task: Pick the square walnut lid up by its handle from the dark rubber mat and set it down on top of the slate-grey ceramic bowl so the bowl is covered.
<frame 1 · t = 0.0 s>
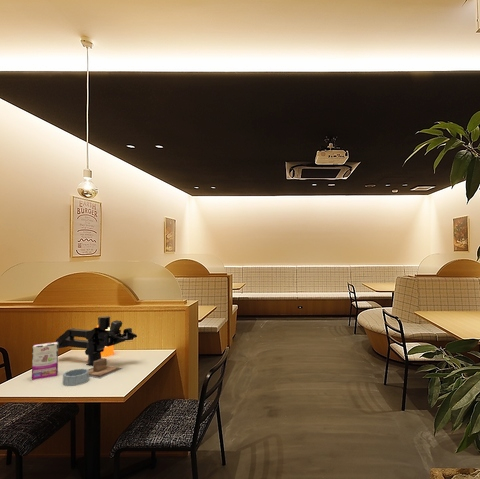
hand: (131, 337, 174), 17 cm above the table, tool horizontal, fingers open, 9 cm apart
walnut lid: (99, 371, 169), resting on mat
orange juice: (103, 355, 200), on the table
candy bar box: (44, 377, 163), on the table
mat: (99, 372, 169), on the table
bowl: (75, 382, 155), on the table
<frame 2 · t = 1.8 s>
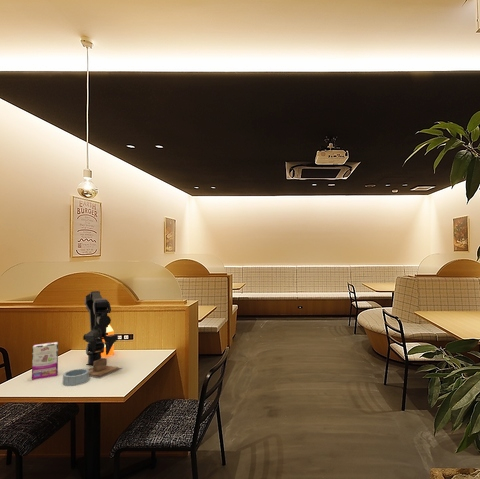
hand: (100, 353, 170), 9 cm above the table, tool pointing down, fingers open, 9 cm apart
nothing on the table moved.
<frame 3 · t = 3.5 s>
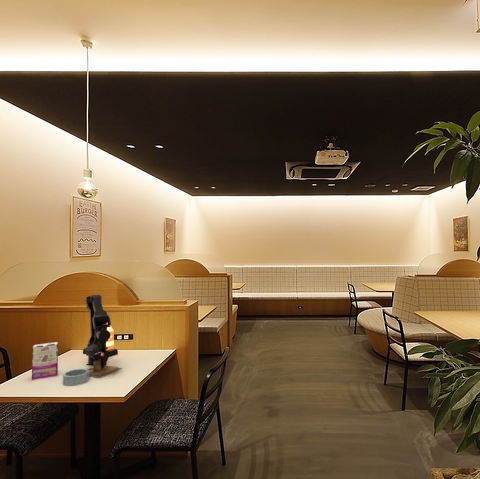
hand: (100, 368, 169), 2 cm above the table, tool pointing down, fingers closed on walnut lid, 3 cm apart
walnut lid: (99, 371, 169), resting on mat, touching gripper
everything else where it was.
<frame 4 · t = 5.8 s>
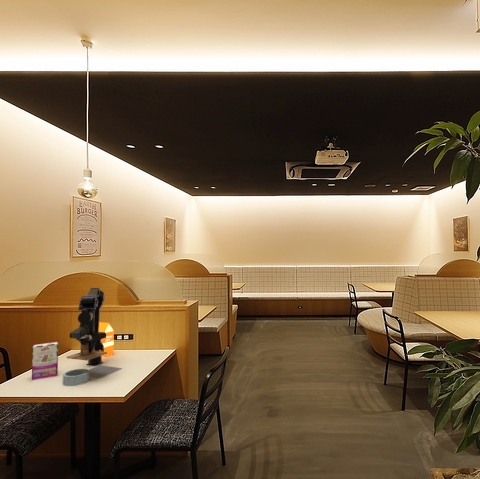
hand: (87, 352, 162), 12 cm above the table, tool pointing down, fingers closed on walnut lid, 3 cm apart
walnut lid: (87, 355, 162), point 11 cm above the table, touching gripper
everything else where it was.
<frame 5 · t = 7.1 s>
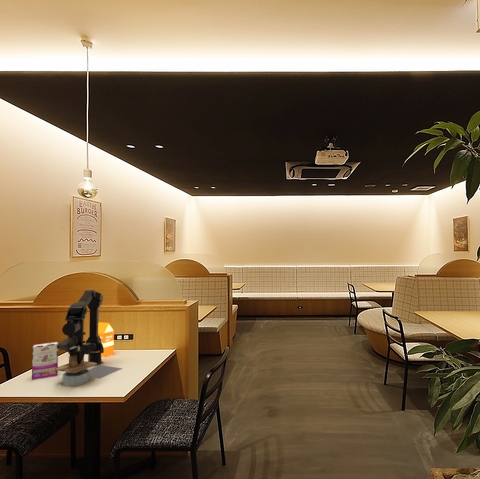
hand: (76, 363, 156), 9 cm above the table, tool pointing down, fingers closed on walnut lid, 3 cm apart
walnut lid: (76, 367, 156), point 7 cm above the table, touching gripper
everything else where it was.
when the fingers open (8 cm above the table, at t = 8.2 s): walnut lid drops 2 cm, resting on bowl.
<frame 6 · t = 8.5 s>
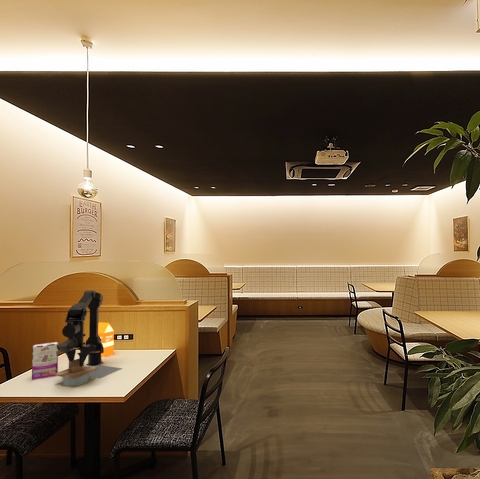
hand: (76, 365, 156), 8 cm above the table, tool pointing down, fingers open, 6 cm apart
walnut lid: (76, 372, 156), point 4 cm above the table, touching bowl
everything else where it was.
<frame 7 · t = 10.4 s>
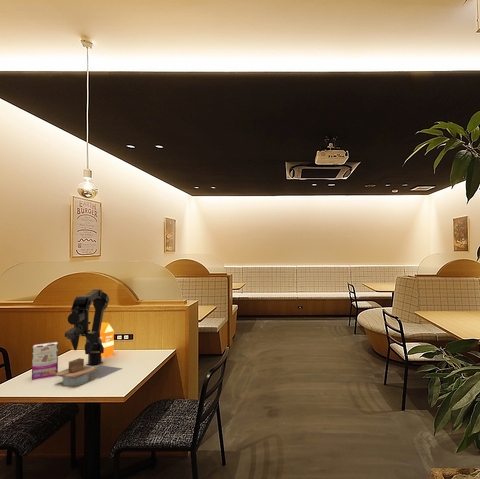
hand: (82, 351, 167), 12 cm above the table, tool pointing down, fingers open, 9 cm apart
nothing on the table moved.
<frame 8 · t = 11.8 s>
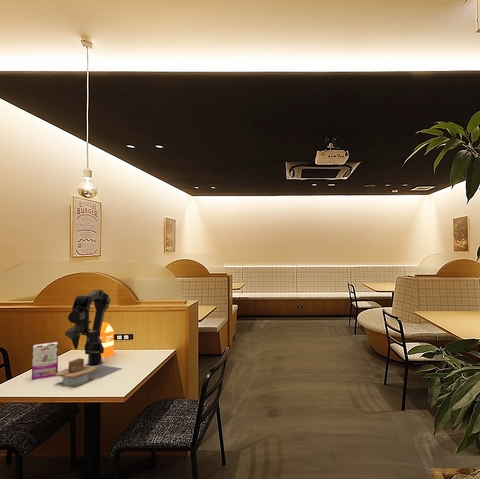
hand: (82, 350, 168), 12 cm above the table, tool pointing down, fingers open, 9 cm apart
nothing on the table moved.
at the end: walnut lid 0.0 cm off-centre on the bowl, point 4.5 cm above the bowl's base; walnut lid tilted 0°; the gripper is holding nothing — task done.
